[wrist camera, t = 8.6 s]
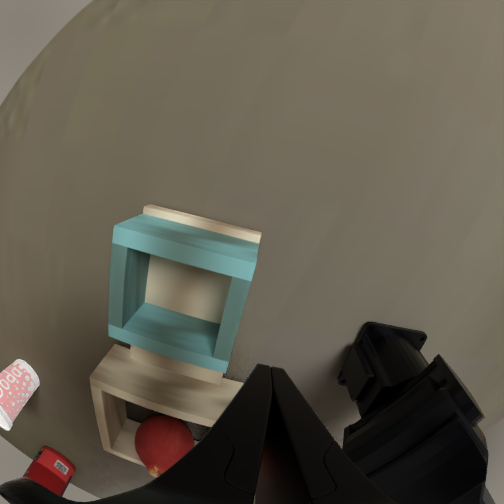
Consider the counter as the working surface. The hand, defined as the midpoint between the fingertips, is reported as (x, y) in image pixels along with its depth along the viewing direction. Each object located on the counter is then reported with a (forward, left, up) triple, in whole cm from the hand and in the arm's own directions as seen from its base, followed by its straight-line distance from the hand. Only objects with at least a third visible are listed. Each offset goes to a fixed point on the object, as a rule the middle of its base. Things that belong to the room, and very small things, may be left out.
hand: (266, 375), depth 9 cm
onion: (+5, +19, -12) cm, 23 cm away
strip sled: (+5, +11, -12) cm, 17 cm away
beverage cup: (+26, +24, -12) cm, 37 cm away
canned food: (+27, +50, -12) cm, 58 cm away
